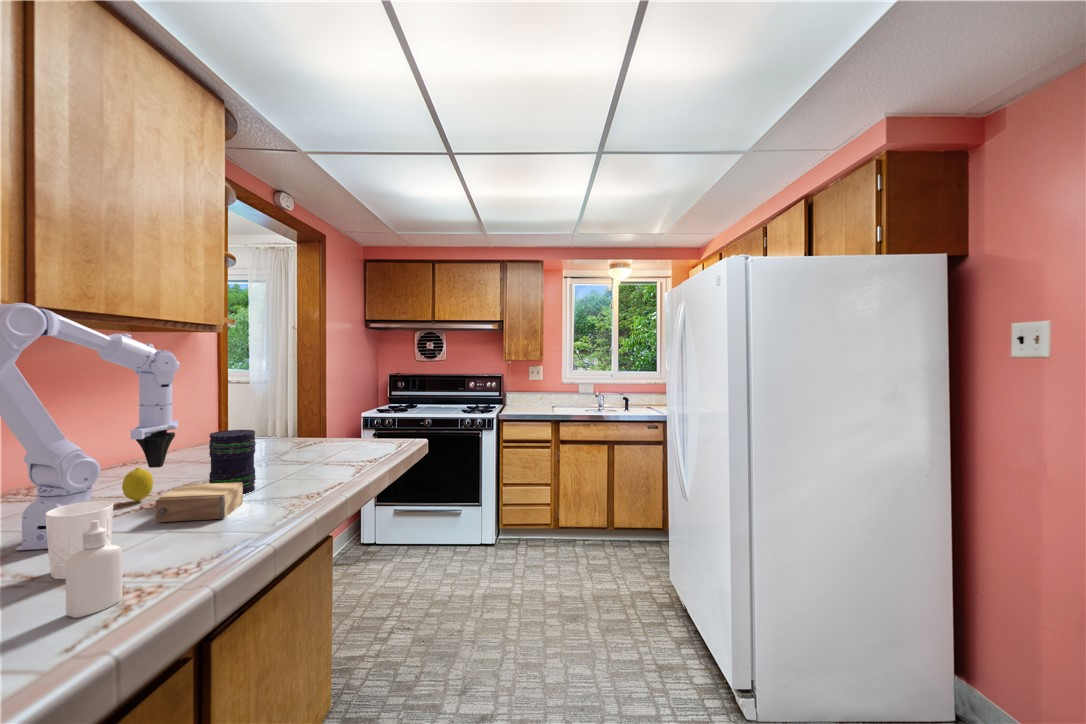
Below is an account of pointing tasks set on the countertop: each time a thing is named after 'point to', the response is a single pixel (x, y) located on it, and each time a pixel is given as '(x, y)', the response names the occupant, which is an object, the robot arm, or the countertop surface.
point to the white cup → (73, 531)
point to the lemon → (137, 484)
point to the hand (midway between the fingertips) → (156, 466)
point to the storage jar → (233, 458)
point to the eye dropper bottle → (93, 574)
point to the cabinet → (211, 493)
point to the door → (190, 508)
